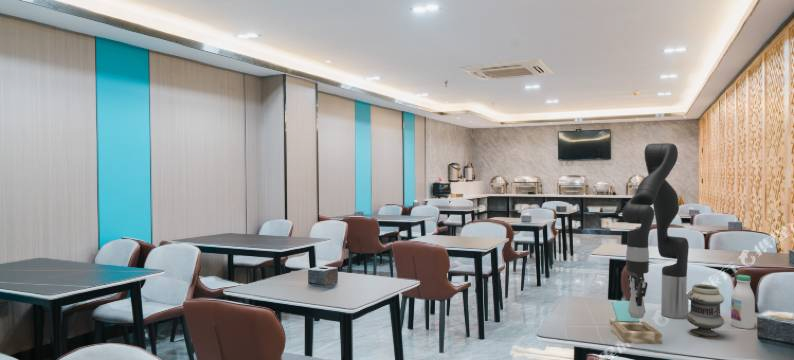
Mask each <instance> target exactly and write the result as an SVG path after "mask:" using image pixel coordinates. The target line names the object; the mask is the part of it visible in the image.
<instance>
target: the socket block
mask: <svg viewBox="0 0 794 360" xmlns="http://www.w3.org/2000/svg"><path fill="white" fill-rule="evenodd" d="M609 325H610V326H611V331H612V333H613V334H614V335H616V336H617V337H618V339H620V341H622V343H626V344H627V343H628V344H656V345H657V344H659V345H662V344H663V333H661V331H659V330H658V329H656V328H655V327H654V326H652V325H651V324H650V323H649V322H646V321H640V322H639V323H633V322H617V319H616V318H609Z"/></svg>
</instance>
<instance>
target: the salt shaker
mask: <svg viewBox="0 0 794 360" xmlns="http://www.w3.org/2000/svg"><path fill="white" fill-rule="evenodd" d="M630 286H631V288H633V287H634V284H633V282H631V284H630ZM636 288H638V287H637V286H636ZM637 292H638V291H637ZM640 293H641V292H640ZM644 301H645V300H644V297H642V306H637V302H636V297H635V290H634V289H632V293H631V292H630V298H629V301H628V302H629V306H628V312H629V314H630V316H631V317H633V318H639V320H640V319H643V318H644V316H645V314H646V307H645V306H646V305H645V302H644ZM639 304H640V303H639Z"/></svg>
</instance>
